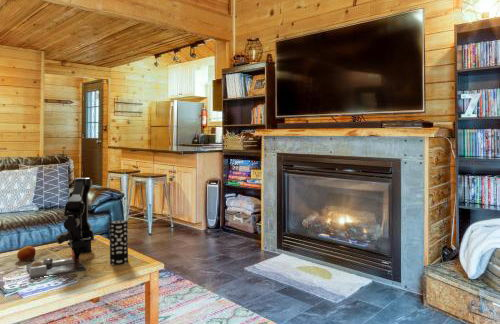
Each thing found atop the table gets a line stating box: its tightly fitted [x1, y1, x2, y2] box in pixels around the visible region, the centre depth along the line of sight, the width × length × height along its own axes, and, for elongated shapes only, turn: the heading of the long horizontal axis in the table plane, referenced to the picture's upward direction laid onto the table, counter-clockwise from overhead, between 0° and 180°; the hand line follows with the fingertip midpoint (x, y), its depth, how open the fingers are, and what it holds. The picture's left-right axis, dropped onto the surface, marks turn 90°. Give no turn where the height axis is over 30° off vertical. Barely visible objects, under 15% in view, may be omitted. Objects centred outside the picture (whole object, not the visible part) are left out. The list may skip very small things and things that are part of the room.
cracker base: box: [26, 257, 87, 280], centre depth 182 cm, size 22×22×4 cm
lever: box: [32, 249, 81, 267], centre depth 184 cm, size 20×4×6 cm, turn 124°
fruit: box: [16, 245, 37, 262], centre depth 195 cm, size 8×8×8 cm
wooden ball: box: [31, 260, 44, 267], centre depth 173 cm, size 5×5×5 cm
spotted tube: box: [109, 219, 129, 266], centre depth 191 cm, size 8×8×20 cm
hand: (75, 258), depth 189 cm, fingers closed on lever, 3 cm apart
